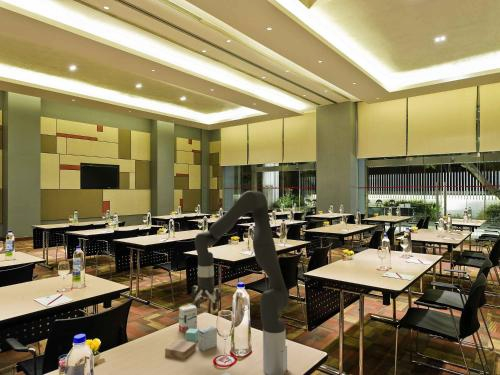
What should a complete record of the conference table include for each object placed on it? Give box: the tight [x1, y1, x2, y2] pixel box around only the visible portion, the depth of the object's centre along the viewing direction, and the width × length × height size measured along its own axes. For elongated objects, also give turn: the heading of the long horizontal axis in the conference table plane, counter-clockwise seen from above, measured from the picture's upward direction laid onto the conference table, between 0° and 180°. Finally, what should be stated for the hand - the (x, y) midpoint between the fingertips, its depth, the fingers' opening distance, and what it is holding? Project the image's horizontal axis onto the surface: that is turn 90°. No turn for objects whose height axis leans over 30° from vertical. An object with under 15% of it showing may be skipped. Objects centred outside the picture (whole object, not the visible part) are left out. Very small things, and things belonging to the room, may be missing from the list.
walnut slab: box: [164, 339, 197, 360], centre depth 165 cm, size 10×10×4 cm
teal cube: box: [184, 328, 200, 344], centre depth 177 cm, size 5×5×5 cm
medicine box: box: [197, 325, 218, 352], centre depth 170 cm, size 8×4×9 cm, turn 134°
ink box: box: [178, 304, 198, 333], centre depth 191 cm, size 8×5×12 cm, turn 123°
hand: (206, 309), depth 169 cm, fingers open, 8 cm apart
